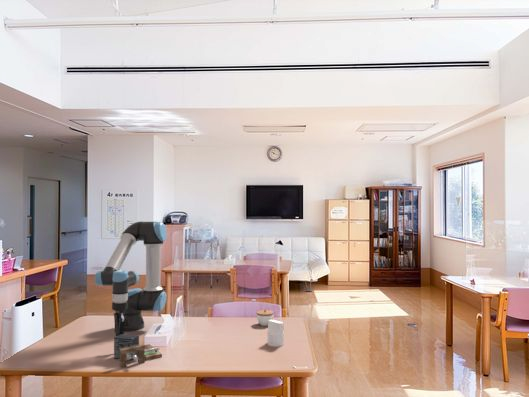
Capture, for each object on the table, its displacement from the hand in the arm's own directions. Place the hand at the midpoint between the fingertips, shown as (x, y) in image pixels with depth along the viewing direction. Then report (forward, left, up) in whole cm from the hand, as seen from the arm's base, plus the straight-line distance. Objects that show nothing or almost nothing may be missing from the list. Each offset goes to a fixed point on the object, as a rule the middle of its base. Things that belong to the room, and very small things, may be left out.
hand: (119, 347), depth 214 cm
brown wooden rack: (-6, +20, -1) cm, 21 cm away
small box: (-1, +9, -2) cm, 10 cm away
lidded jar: (-90, +2, -3) cm, 90 cm away
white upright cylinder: (-74, +35, -3) cm, 81 cm away
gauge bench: (-5, +11, -2) cm, 12 cm away
